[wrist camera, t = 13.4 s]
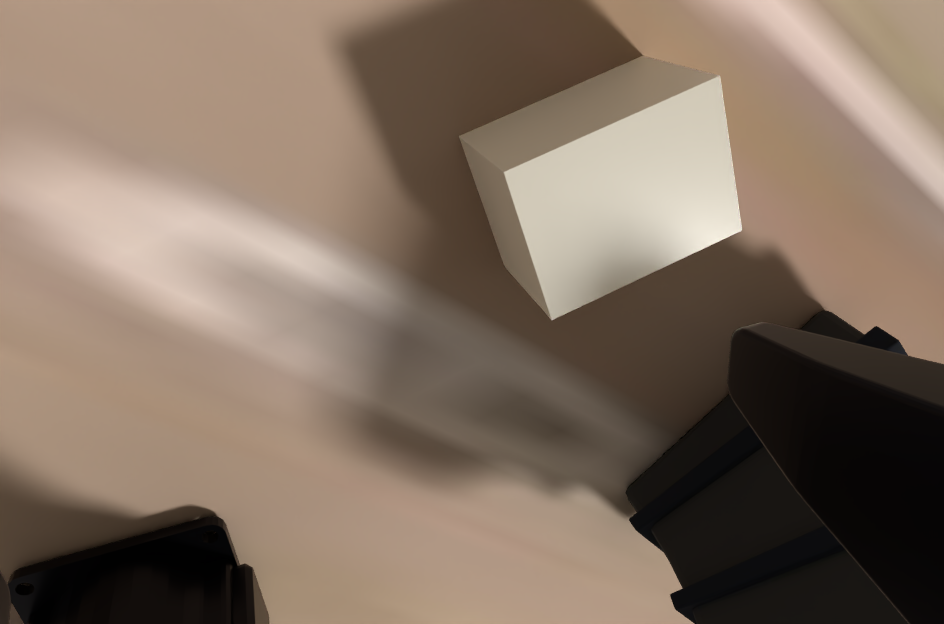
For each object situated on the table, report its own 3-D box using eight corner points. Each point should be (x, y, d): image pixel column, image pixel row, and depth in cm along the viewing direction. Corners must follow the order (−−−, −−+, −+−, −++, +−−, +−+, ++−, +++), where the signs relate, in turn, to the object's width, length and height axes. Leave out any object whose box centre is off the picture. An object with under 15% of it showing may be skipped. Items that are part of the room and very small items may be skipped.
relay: (502, 265, 23) (551, 320, 20) (457, 135, 21) (503, 172, 17) (667, 189, 24) (742, 230, 20) (640, 55, 21) (719, 75, 18)
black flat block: (951, 315, 28) (1233, 756, 17) (650, 438, 34) (716, 821, 23) (920, 255, 26) (1215, 710, 15) (606, 397, 32) (656, 795, 21)
